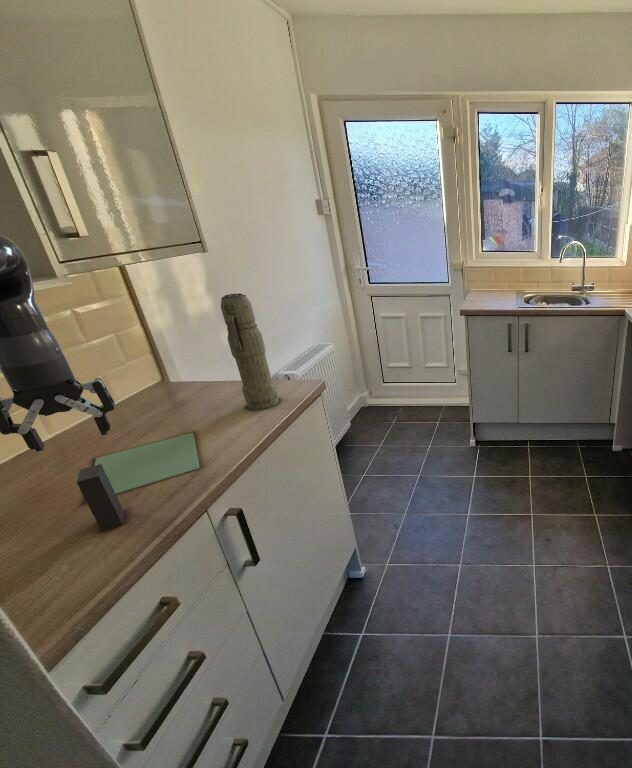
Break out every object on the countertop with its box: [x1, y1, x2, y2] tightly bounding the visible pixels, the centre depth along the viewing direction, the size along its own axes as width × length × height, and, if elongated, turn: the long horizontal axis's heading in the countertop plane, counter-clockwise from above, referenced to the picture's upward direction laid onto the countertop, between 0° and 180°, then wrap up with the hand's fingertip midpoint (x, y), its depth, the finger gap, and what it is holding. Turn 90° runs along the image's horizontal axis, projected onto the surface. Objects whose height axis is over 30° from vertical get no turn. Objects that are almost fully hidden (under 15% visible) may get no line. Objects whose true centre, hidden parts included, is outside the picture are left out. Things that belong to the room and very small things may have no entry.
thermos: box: [220, 293, 280, 411], centre depth 125 cm, size 9×12×35 cm
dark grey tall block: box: [76, 464, 125, 532], centre depth 81 cm, size 3×5×12 cm, turn 39°
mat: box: [85, 432, 201, 504], centre depth 102 cm, size 20×22×1 cm
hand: (73, 441), depth 76 cm, fingers open, 8 cm apart
